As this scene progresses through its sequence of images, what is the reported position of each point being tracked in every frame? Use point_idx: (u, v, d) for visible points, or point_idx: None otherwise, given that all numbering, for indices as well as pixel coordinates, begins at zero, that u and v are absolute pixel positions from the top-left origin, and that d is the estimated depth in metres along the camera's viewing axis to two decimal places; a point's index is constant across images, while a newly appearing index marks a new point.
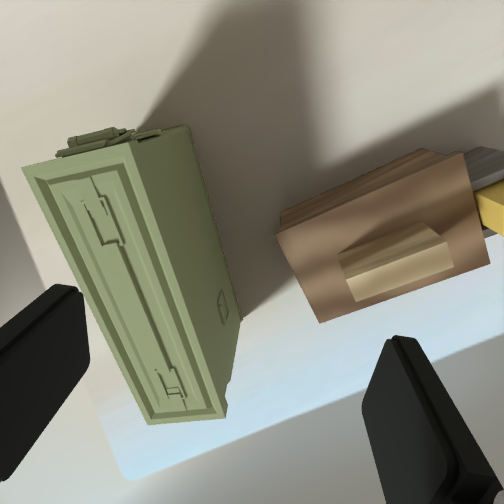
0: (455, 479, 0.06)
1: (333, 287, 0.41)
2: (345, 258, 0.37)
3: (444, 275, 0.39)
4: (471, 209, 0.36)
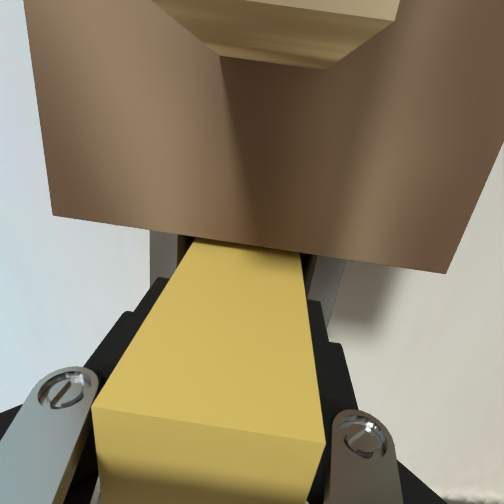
0: None
1: None
2: None
3: (50, 54, 0.09)
4: (263, 232, 0.11)
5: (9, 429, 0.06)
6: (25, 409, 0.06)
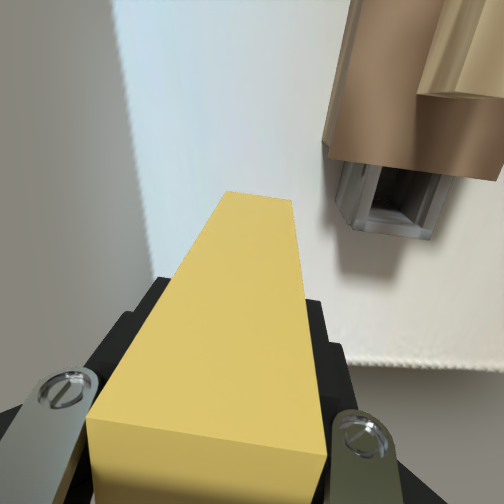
0: None
1: None
2: None
3: (350, 93, 0.25)
4: (420, 164, 0.27)
5: (8, 428, 0.06)
6: (25, 409, 0.06)
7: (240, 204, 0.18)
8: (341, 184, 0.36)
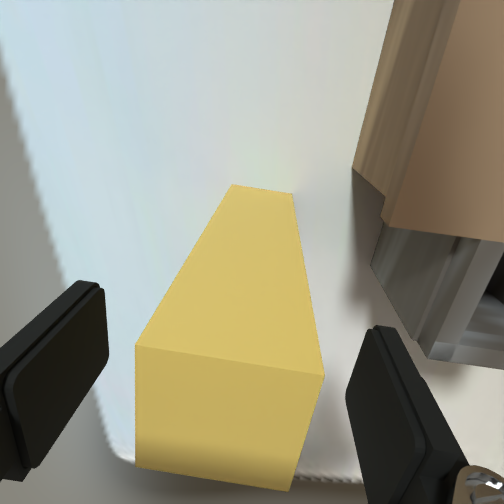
0: (422, 456, 0.06)
1: None
2: None
3: (455, 79, 0.10)
4: None
5: None
6: None
7: (245, 196, 0.19)
8: (385, 242, 0.21)
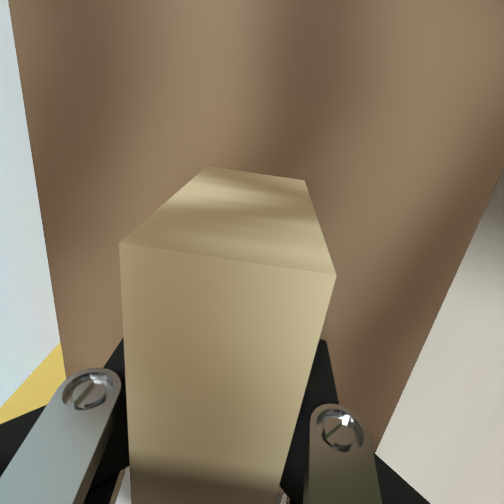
0: None
1: (174, 90, 0.09)
2: None
3: None
4: None
5: (33, 427, 0.06)
6: (50, 408, 0.06)
7: (53, 369, 0.23)
8: None
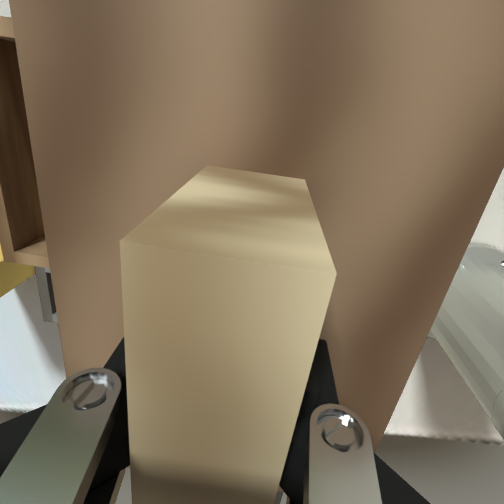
0: None
1: (174, 89, 0.09)
2: None
3: None
4: None
5: (33, 427, 0.06)
6: (50, 408, 0.06)
7: None
8: None
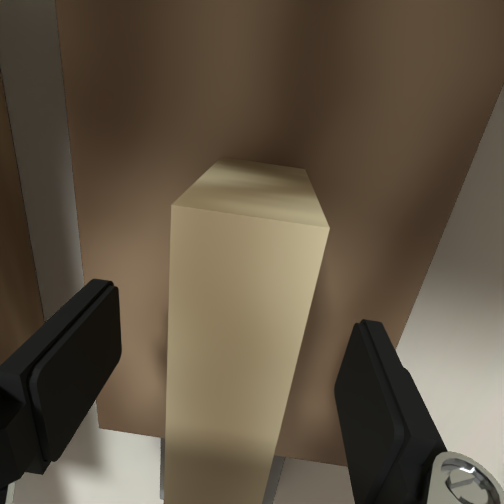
0: (401, 443, 0.06)
1: (194, 92, 0.11)
2: None
3: None
4: None
5: None
6: None
7: None
8: None
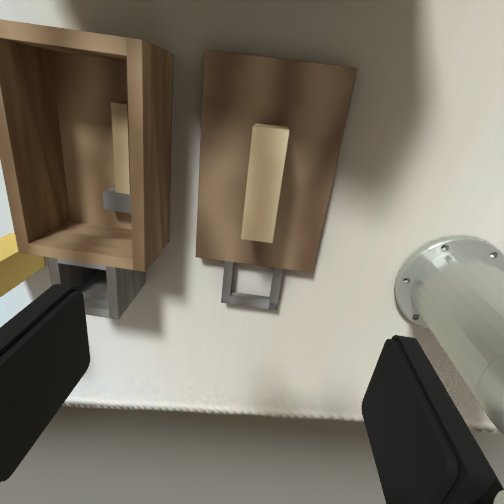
0: (455, 479, 0.06)
1: (248, 99, 0.31)
2: None
3: (202, 217, 0.36)
4: (258, 261, 0.38)
5: None
6: None
7: (3, 242, 0.39)
8: None
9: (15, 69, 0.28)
